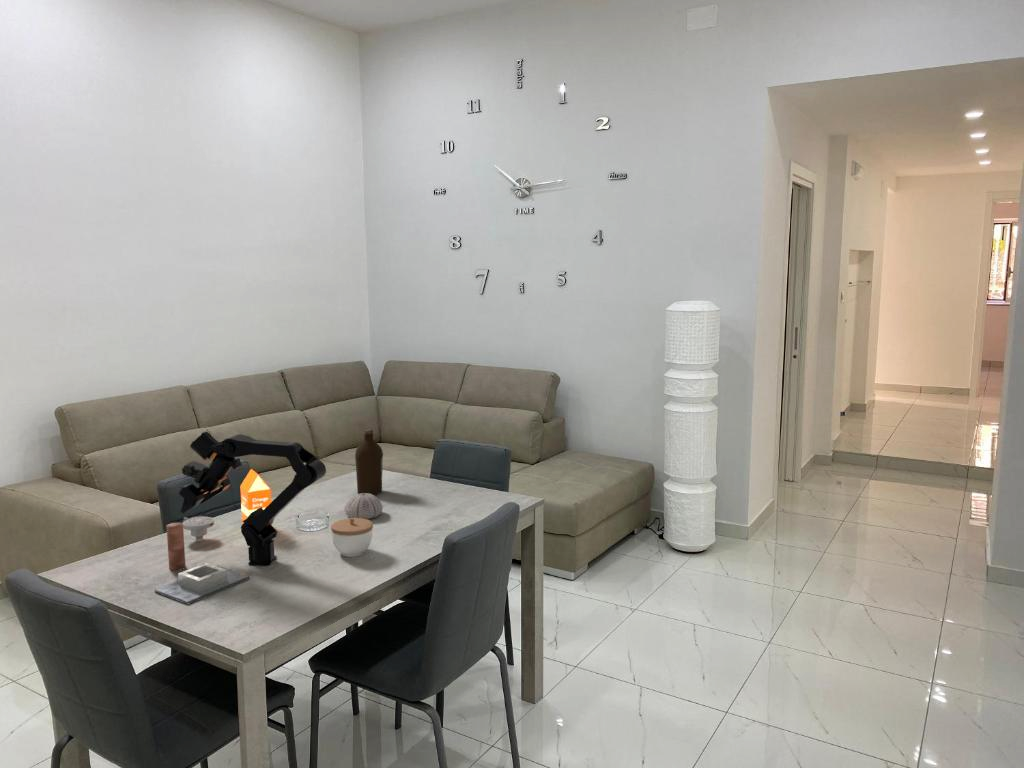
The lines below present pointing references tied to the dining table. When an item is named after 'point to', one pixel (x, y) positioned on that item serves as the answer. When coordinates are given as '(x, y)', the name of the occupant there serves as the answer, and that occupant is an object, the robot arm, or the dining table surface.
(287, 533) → the dining table surface
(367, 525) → the lidded bowl
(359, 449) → the olive oil
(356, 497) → the sea urchin shell
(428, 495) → the dining table surface
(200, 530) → the showerhead
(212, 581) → the dock
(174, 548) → the peg
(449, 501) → the dining table surface
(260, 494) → the orange juice
